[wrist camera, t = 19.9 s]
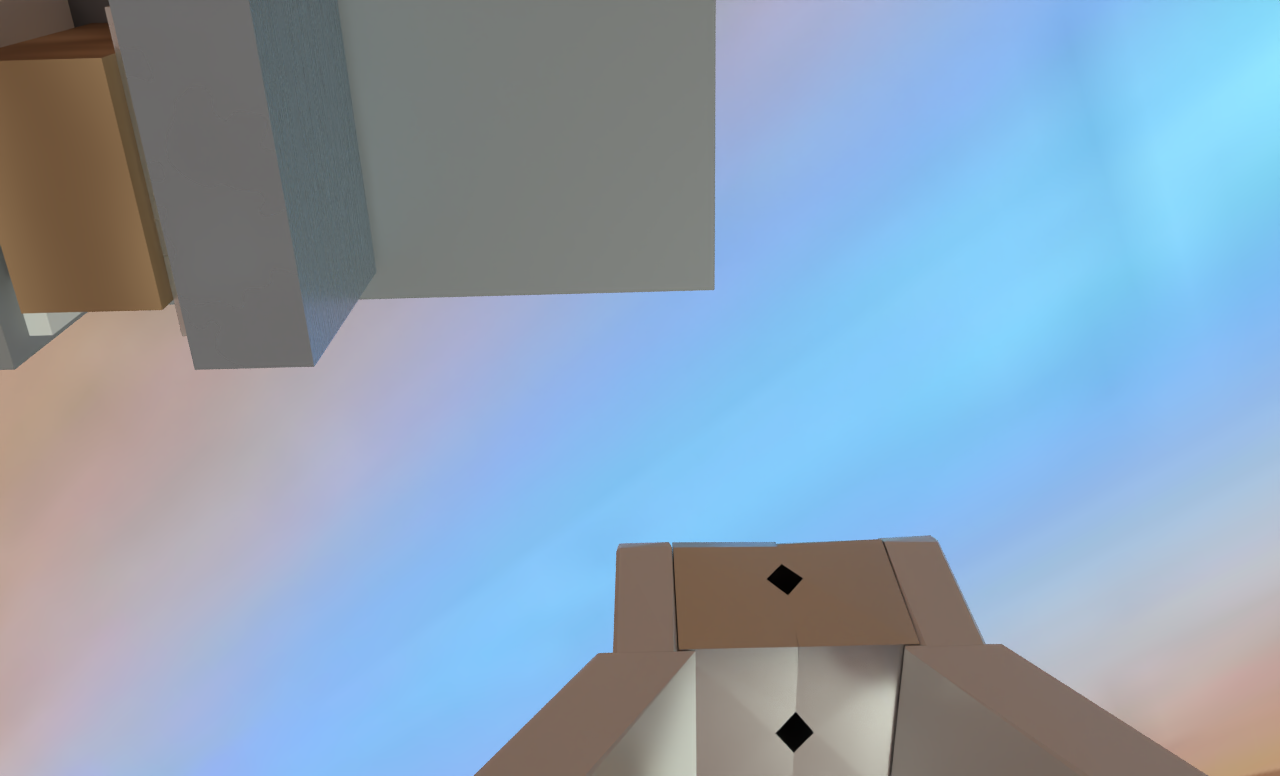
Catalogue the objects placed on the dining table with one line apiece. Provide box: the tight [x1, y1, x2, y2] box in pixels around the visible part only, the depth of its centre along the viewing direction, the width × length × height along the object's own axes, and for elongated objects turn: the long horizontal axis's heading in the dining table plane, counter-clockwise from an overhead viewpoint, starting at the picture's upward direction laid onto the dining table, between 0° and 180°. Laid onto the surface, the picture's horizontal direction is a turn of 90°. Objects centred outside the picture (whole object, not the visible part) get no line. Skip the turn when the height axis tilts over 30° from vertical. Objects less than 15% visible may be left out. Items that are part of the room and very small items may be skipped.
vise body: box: [0, 0, 716, 370], centre depth 29 cm, size 22×11×9 cm, turn 92°
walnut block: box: [0, 23, 174, 314], centre depth 28 cm, size 4×6×7 cm, turn 2°
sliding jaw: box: [105, 0, 376, 370], centre depth 27 cm, size 4×9×7 cm, turn 2°
